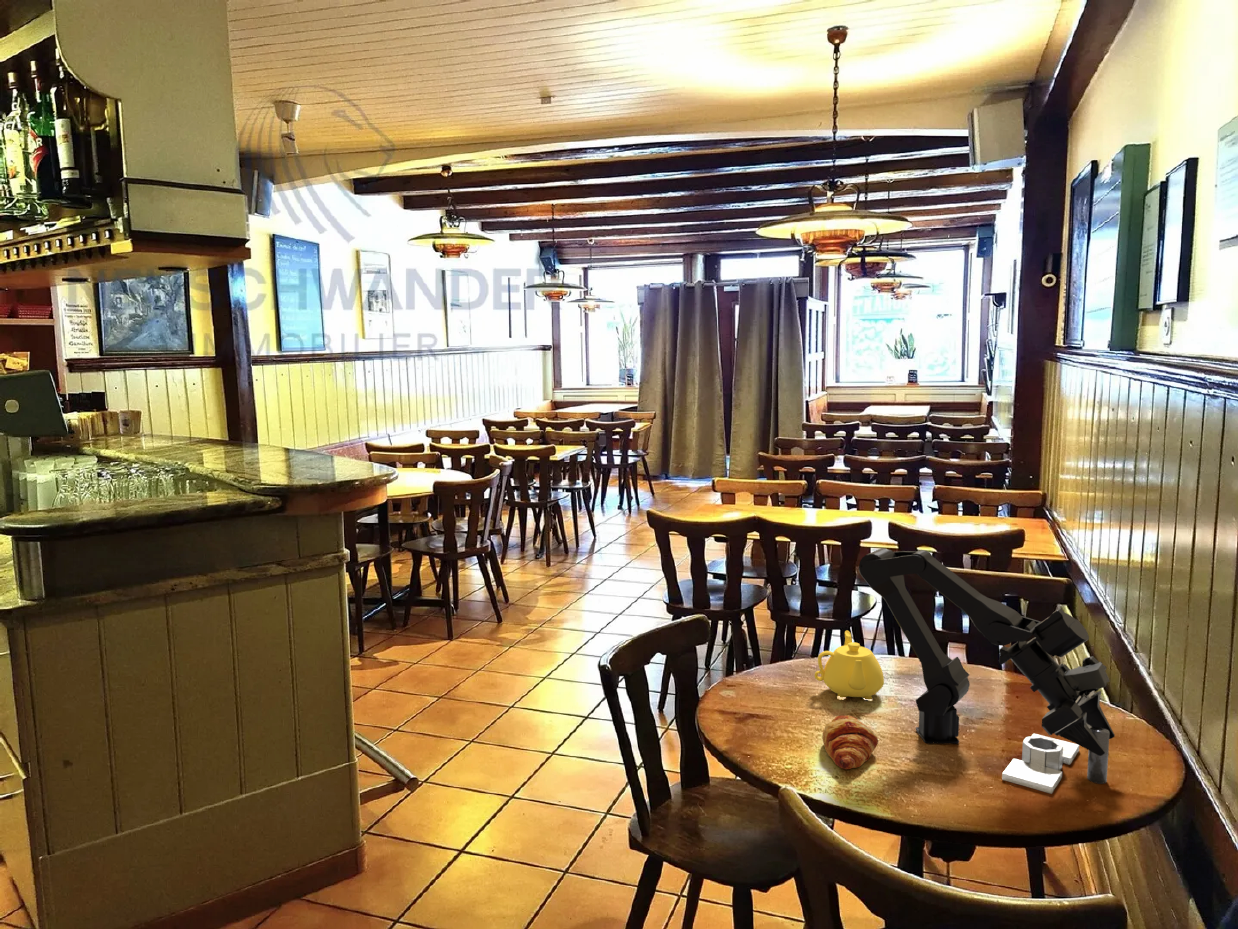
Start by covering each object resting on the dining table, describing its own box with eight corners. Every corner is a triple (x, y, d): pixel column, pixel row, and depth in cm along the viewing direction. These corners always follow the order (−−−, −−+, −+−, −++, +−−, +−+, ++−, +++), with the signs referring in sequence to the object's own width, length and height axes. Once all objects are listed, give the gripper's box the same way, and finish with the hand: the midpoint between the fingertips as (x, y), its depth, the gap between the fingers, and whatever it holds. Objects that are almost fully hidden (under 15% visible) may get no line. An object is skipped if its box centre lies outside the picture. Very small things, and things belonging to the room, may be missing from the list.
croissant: (835, 743, 174) (816, 708, 174) (881, 725, 171) (862, 689, 171) (831, 792, 154) (810, 752, 154) (884, 772, 151) (862, 732, 151)
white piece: (1002, 779, 151) (1002, 758, 150) (1033, 739, 166) (1034, 719, 166) (1051, 793, 146) (1052, 771, 145) (1079, 750, 161) (1080, 730, 161)
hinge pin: (1092, 784, 149) (1095, 734, 148) (1083, 775, 152) (1086, 727, 151) (1110, 783, 149) (1113, 734, 148) (1101, 775, 152) (1103, 727, 151)
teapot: (810, 676, 201) (811, 628, 199) (875, 678, 199) (877, 630, 197) (818, 710, 181) (819, 658, 180) (891, 713, 179) (892, 660, 178)
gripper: (1065, 661, 143) (1138, 742, 137) (1090, 632, 157) (1157, 705, 151) (1013, 695, 149) (1080, 774, 143) (1041, 664, 163) (1104, 736, 157)
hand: (1107, 746), depth 149 cm, fingers open, 8 cm apart
